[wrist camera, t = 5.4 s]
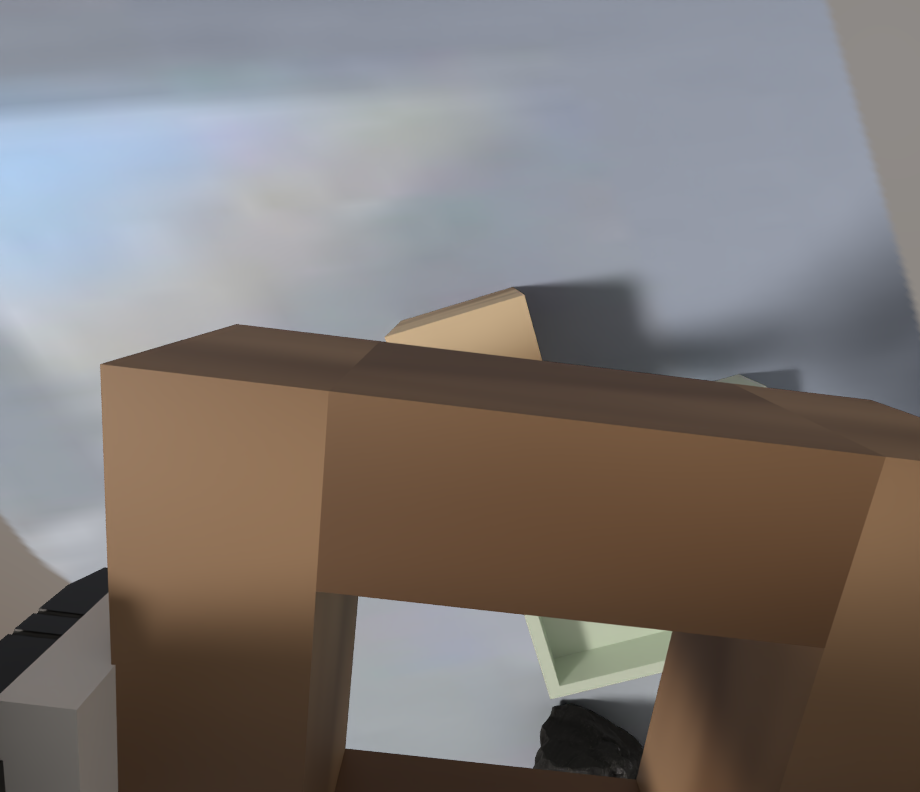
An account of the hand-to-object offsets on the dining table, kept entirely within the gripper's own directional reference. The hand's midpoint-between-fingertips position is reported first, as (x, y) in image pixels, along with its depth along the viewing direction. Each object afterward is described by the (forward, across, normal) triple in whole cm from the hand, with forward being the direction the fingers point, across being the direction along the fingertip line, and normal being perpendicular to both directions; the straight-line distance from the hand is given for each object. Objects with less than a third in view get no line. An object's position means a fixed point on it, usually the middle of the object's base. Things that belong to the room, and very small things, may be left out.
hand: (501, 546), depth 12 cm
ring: (-3, 0, 0) cm, 3 cm away
